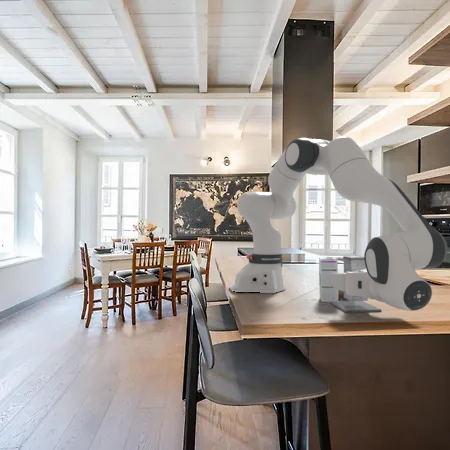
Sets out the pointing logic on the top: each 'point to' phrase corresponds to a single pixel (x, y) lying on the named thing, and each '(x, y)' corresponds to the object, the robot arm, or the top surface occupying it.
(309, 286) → the top surface
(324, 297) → the syrup box
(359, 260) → the tea tin
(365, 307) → the slate coaster
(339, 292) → the walnut block
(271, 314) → the top surface
